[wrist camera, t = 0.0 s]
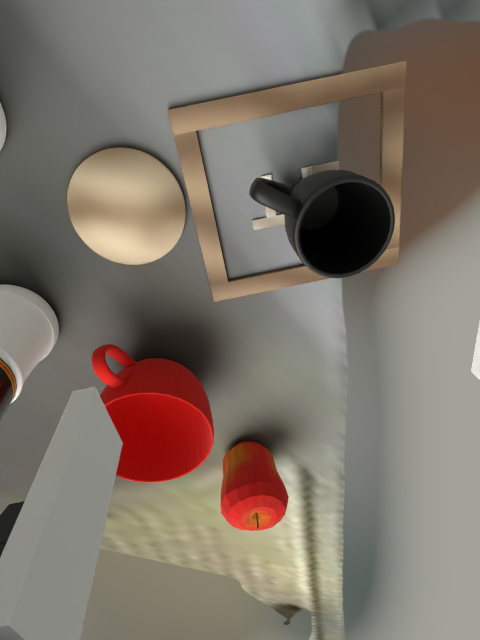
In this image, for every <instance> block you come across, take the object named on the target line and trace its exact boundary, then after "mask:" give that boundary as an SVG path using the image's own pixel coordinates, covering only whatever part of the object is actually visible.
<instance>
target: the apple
mask: <svg viewBox="0 0 480 640" xmlns="http://www.w3.org/2000/svg"><path fill="white" fill-rule="evenodd" d="M287 503H288V494H287V491H286V488H285V486H284V484H283V482H282V480H281V478H280V476H279V474H278V472H277V470H276V466H275V463H274V459H273V455H272V454H271V452H270V451H269V450H268V449H267V448H265V447H264V446H262V445H261V444H259V443H257V442H253V441H243V442H240V443H238V444H237V445H236V446H234V447H233V448H232V449H231V450H230V451H228V452H227V453H226V455H225V457H224V459H223V482H222V489H221V513H222V514H223V516H224V517H225V518H226V520H227V521H228V522H229V523H230V524H231V525H232V526H233V527H235V528H238V529H240V530H251V531H254V530H264V529H268V528H271V527H273V526H274V525H276V524H277V523H278V522H279V521H280V520H281V519H282V518H283V516H284V515H285V512H286V508H287Z"/></svg>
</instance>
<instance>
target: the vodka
mask: <svg viewBox="0 0 480 640" xmlns="http://www.w3.org/2000/svg"><path fill="white" fill-rule="evenodd" d="M58 335H59V325H58V321H57V317H56V315H55V313H54V311H53V309H52V308H51V307H50V305H49V304H48V303H47V302H46V301H45V300H44V299H43V298H42V297H40V296H39V295H37V294H36V293H34V292H32V291H30V290H28V289H26V288H23V287H20V286H15V285H5V284H4V285H0V420H1V418H2V416H3V415H4V413H5V412H6V410H7V408H8V407H9V405H10V404H11V403H12V402H13V401H14V400H15V399H16V398H17V397H18V396H19V394H20V392H21V390H22V386H23V384H24V382H25V380H26V378H27V377H28V375H29V374H30V373H31V371H32V370H33V369H34V367H35V366H36V365H37V363H38V362H39V361H41V360H42V359H44V358H45V357H46V356H47V355H48V354H49V352H50V351H51V350H52V348H53V347H54V345H55V343H56V341H57V339H58Z"/></svg>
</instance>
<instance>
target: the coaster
mask: <svg viewBox="0 0 480 640" xmlns="http://www.w3.org/2000/svg"><path fill="white" fill-rule="evenodd" d="M67 205H68V211H69V216H70V219H71V222H72V224H73V226H74V228H75V230H76V232H77V233H78V235H79V236H80V237H81V239H82V240H83V241H84V242H85V243H86V244H87V245H88V246H89V247H90V248H91V249H92V250H93V251H95V252H96V253H98V254H99V255H101V256H102V257H104V258H107V259H109V260H111V261H114V262H117V263H122V264H129V265H139V264H145V263H149V262H152V261H155V260H157V259H159V258H161V257H163V256H164V255H165V254H167V253H168V252H169V251H170V250H171V249H172V248H173V247H174V246H175V244H176V243H177V242H178V240H179V238H180V236H181V234H182V231H183V229H184V224H185V216H186V207H185V200H184V196H183V193H182V190H181V188H180V186H179V183H178V182H177V180H176V179H175V177H174V175H173V174H172V173H171V172H170V170H169V169H168V168H167V167H166V166H165V165H164V164H162V163H161V162H160V161H159V160H157V159H156V158H154V157H153V156H151V155H149V154H147V153H145V152H142V151H139V150H136V149H131V148H120V147H117V148H109V149H106V150H102V151H100V152H97V153H95V154H93V155H91V156H90V157H88V158H87V159H86V160H85V161H83V162H82V163H81V164H80V165H79V167H78V168H77V169H76V171H75V172H74V174H73V176H72V178H71V181H70V183H69V188H68V193H67Z"/></svg>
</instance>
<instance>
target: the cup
mask: <svg viewBox="0 0 480 640" xmlns="http://www.w3.org/2000/svg"><path fill="white" fill-rule="evenodd" d="M5 138H6V118H5V114H4V111H3V108H2V105H1V103H0V151H1V149H2V147H3V145H4V142H5Z"/></svg>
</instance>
